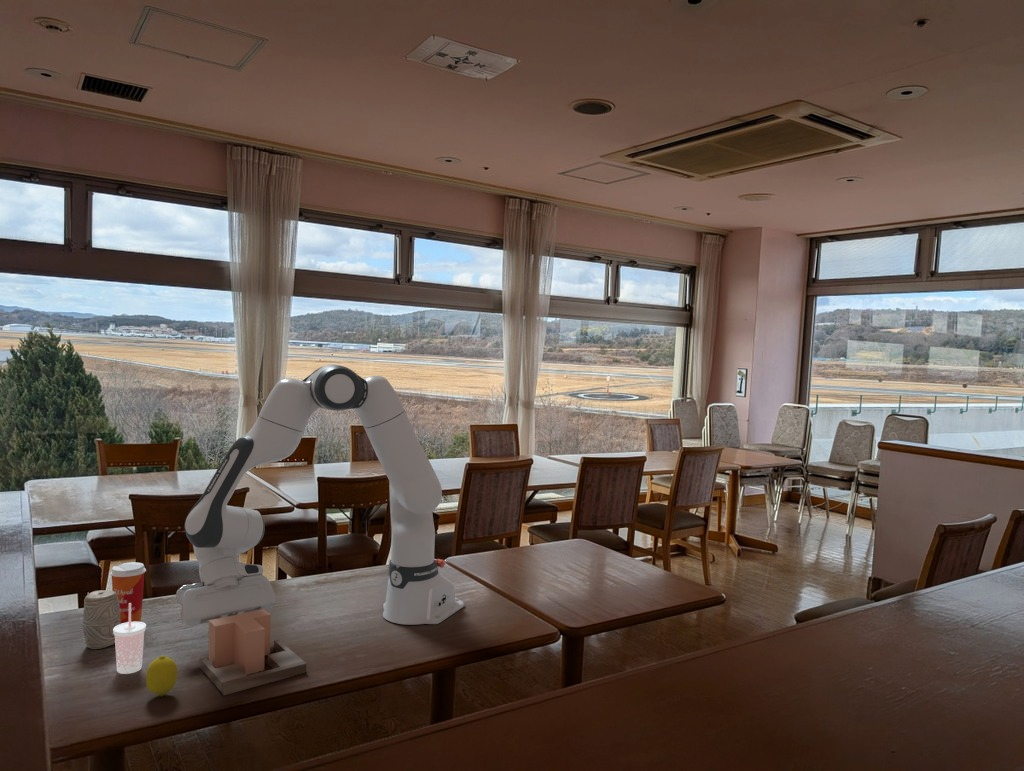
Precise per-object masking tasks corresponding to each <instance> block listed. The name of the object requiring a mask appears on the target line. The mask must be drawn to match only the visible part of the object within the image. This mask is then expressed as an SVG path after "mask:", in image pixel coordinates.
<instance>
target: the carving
mask: <svg viewBox="0 0 1024 771" xmlns="http://www.w3.org/2000/svg"><path fill="white" fill-rule="evenodd" d="M117 596H118V595H117V594H116V592H114V591H112V590H106V589H105V590H102V589H101V590H94V591H92V592H89V593H88V594H87V595H86V596H85V597H84V600H83V603H84V604H83V611H82V612H83V614H82V634H83V636H84V641H85V645H86V647H87V648H88V649H91V650H100V649H104V648H107V647H110V646H112V645H115V635H114V634H113V629H114V627H115V626H117V625H119V624H120V612H119V609H120V606H119V601H118V597H117Z"/></svg>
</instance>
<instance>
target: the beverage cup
mask: <svg viewBox="0 0 1024 771" xmlns="http://www.w3.org/2000/svg"><path fill="white" fill-rule="evenodd" d="M146 630H147V624H146V623H145V622H143V621H141V622H136V621H134V622H131V603H129V622H126V623H122V624H119V625H117V626H115V627H114V629H113V634H114V635H115V643H114V645H115V658H116V659H115V662H116V664H115V665H116V672H117V673H118V674H121V675H123V674H124V675H128V674H134V673H137V672H139V671H140V670H141V669H142V668H143V667H142V666H143V654H144V645H145V644H144V641H145V631H146Z"/></svg>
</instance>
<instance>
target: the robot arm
mask: <svg viewBox="0 0 1024 771" xmlns="http://www.w3.org/2000/svg"><path fill="white" fill-rule="evenodd" d="M395 390H396V389H394V387H393V386H392V384H391V383H390V382H389V380H388V379H387V378H386V377H384V376H381V375H371V376H367V377H365V378H363V377H362V376H360V375H359V374H358V373H357V372H355V371H353V370H352V369H351V368H349V367H347V366H343V365H340V364H327V365H326V364H325V365H324V366H320V367H318V368H317V369H315V370H314V371H313V372H311V373H310V374H309V375H307V376H306V377H305V378H304V379H303V380H298V379H296V378H295V379H294V378H284V379H280V380H279V381H277V382H276V383H275V385H274V387H272V390H271V391H270V392H269V394H268V396H267V398H266V399H265V402H264V403H263V405H262V407H261V409H260V412H259V414H258V416H257V419H256V421H255V423H254V424H253V426H252V427H251V428H250V430H248V432H246V433H245V434H244V435H243V436H242V437H239V438H238V439H236V440H235V441H234V443H233V444H232V445H231V446H230V448H229V450H228V451H227V453H226V454H225V456H224V457H223V459H222V461H221V463H220V464H219V466H218V467H217V468H216V471H215V473H214V474H213V476H212V478H211V480H210V481H209V482H208V484H207V486H206V488H205V490H204V491H203V493H202V495H201V496H200V498H199V499H198V501H196V503H195V504H194V505H193V506H192V508H191V509H189V511H188V513H187V514H186V517H185V519H184V523H183V528H184V533H185V535H186V537H187V539H188V541H189V542H190V543H191V544H192V547H193V552H194V556H195V559H196V561H197V562H198V565H199V568H198V573H199V578H200V581H201V582H195V583H192V584H184V585H182V586H181V587H179V588H178V589H177V591H176V592H175V596H176V597H175V598H176V601H177V603H178V604H179V605H180V607H179V608H180V619H181V621H180V622H181V624H182V625H183V626H185V627H186V628H188V627H193V626H199V625H203V624H207V623H208V624H209V620H213V619H218V618H223V617H228V616H232V615H237V614H242V613H247V612H252V611H256V610H261V609H265V610H266V611H270V610H271V609H272V607H273V606H274V604H275V602H276V599H277V598H276V595H275V592H274V589H273V587H272V584H271V582H270V580H269V578H267V576H265V575H263V574H264V567H263V566H262V565H261V564H254V563H253V564H251V563H245V562H241V561H240V560H239V556H240V555H241V554H244V553H247V552H248V551H250V550H252V549H254V548H255V547H256V546H258V544H260V542H261V541H262V540H263V537H264V535H265V529H266V528H265V527H266V526H265V519H264V518H263V517H264V516H263V515H262V514H261V513H260V511H258V510H256V509H252V508H249V507H248V508H247V507H241V506H233V505H228V503H229V501H230V499H231V498H232V496H233V494H234V492H235V490H237V489H236V488H238V485H239V484H240V482H241V480H242V479H243V477H244V475H246V473H248V472H249V471H250V470H252V469H253V468H256V467H259V466H262V465H265V464H270V463H276V462H280V461H283V460H284V459H286V458H288V457H290V456H291V455H292V454H294V452H295V451H296V449H297V448H298V447H299V444H300V443H301V440H302V438H303V435H304V432H305V430H306V427H307V424H308V422H309V420H310V418H311V416H312V415H313V414H314V413H315V412H316V411H318V410H320V409H325V410H328V411H337V412H338V411H339V412H340V411H345V410H354V412H356V414H357V415H358V417H359V420H360V421H361V424H362V427H363V429H364V431H365V433H366V435H367V438H368V440H369V442H370V444H371V446H372V449H373V451H374V453H375V455H376V457H377V459H378V461H379V463H380V465H381V466H382V468H383V471H384V473H385V475H386V477H387V479H388V481H389V486H388V487H389V489H388V490H389V509H390V510H389V512H390V525H391V526H390V527H391V542H390V544H391V545H390V547H391V548H390V560H389V562H388V575H389V576H388V580H387V588H386V595H385V602H383V605H382V607H383V611H382V612H383V613H382V617H383V618H384V619H385V620H387V621H389V623H390V622H391V623H394V624H399V625H409V626H410V625H411V626H412V625H425V624H427V625H438V624H440V623H442V622H443V621H444V620H446V619H448V618H449V617H451V616H452V615H453V614H456V612H458V611H459V610H461V609H462V608H464V606H465V603H464V602H463V600H461V599H459V598H458V597H456V588H455V586H454V584H453V582H452V581H450V580H449V579H448V578H446V577H445V576H443V574H441V573H440V572H439V568H441V569H442V568H444V567H445V565H446V561H445V559H440V558H437V559H435V545H436V544H435V542H436V541H435V540H436V538H435V537H436V536H435V535H436V530H435V529H436V528H435V524H434V516H433V511H434V510H436V509H437V508H438V506H440V503H441V501H442V497H443V491H442V490H443V489H442V486H441V482H440V481H439V480H440V479H439V478H438V476H437V474H436V471H435V470H434V468H433V466H432V464H431V462H430V460H429V458H428V456H427V454H426V452H425V449H424V448H423V446H422V445H421V443H420V440H419V439H418V437H417V435H416V432H415V431H414V427H413V425H412V423H411V421H410V418H409V416H408V413H407V412H406V409H405V407H404V405H403V403H402V401H401V399H400V398H399V395H398V394H397V392H396V391H395Z"/></svg>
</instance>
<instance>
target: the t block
mask: <svg viewBox="0 0 1024 771" xmlns="http://www.w3.org/2000/svg"><path fill="white" fill-rule="evenodd" d="M271 618H272V613H270V612H268V610H265V609H261V610H256V611H252V612H247V613H242V614H237V615H232V616H228V617H223V618H218V619H213V620H209V622H208V661H209V662H210V663H211V664H212V665H213V666H214V668H219V667H222V666H226V665H230V664H234V663H235V664H236V665H237V666H238V667H239V668H240V669H241V670H242V671H243V672H244V673H245V674H246V675H247V676H248V675H252V674H256V673H260V672H263V671H265V656H268V655H270V654H271V631H272V630H271V627H272V624H271V621H272V619H271ZM259 671H260V672H259Z"/></svg>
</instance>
